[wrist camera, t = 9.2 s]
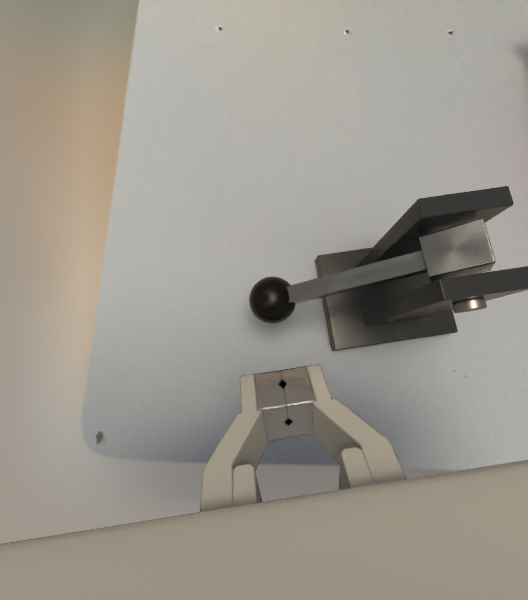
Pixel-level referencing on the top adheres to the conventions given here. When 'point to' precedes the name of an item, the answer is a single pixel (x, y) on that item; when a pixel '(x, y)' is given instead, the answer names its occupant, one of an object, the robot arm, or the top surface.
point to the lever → (383, 271)
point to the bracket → (416, 277)
